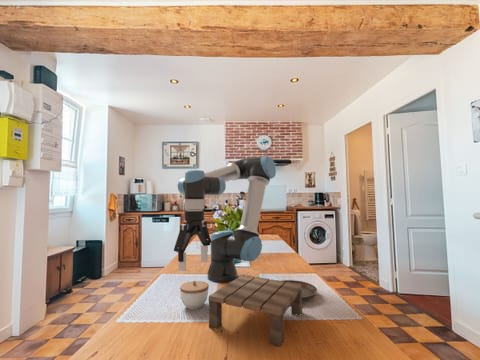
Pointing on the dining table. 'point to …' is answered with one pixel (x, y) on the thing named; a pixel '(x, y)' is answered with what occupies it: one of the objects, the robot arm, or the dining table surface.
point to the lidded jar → (194, 294)
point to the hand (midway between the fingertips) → (193, 266)
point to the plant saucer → (305, 289)
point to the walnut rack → (258, 301)
